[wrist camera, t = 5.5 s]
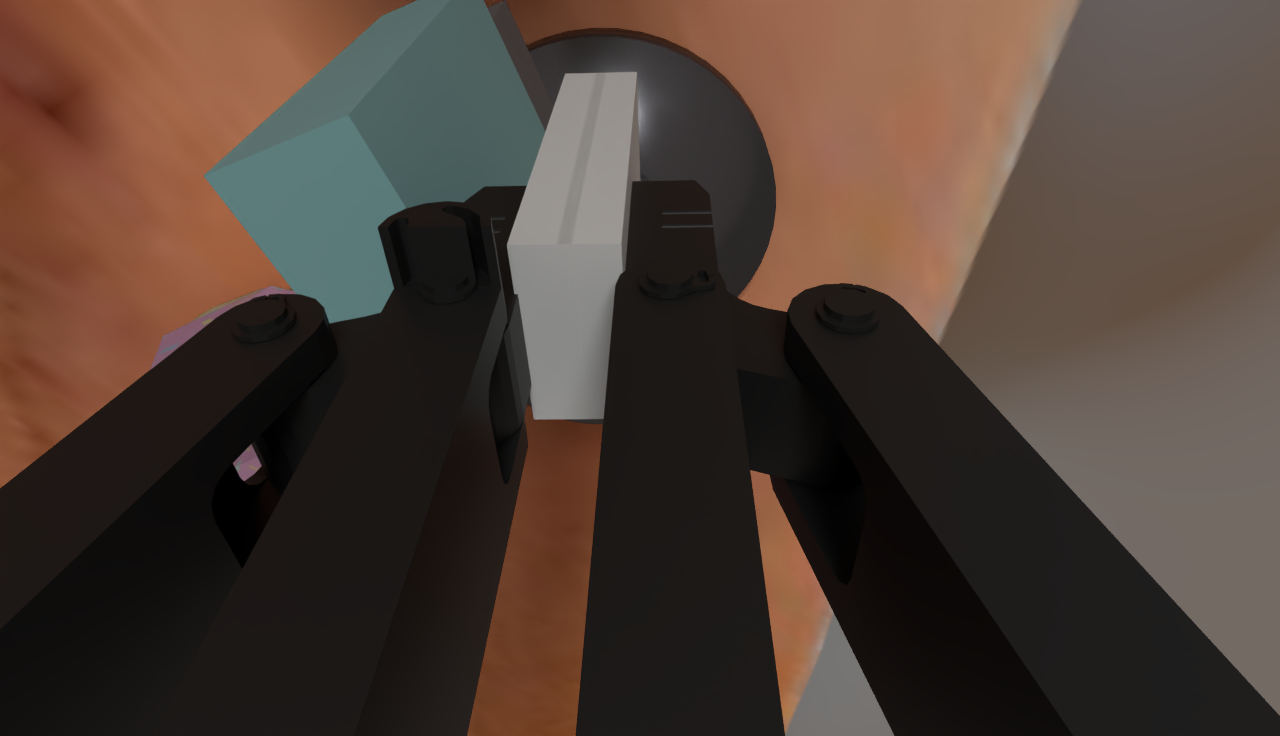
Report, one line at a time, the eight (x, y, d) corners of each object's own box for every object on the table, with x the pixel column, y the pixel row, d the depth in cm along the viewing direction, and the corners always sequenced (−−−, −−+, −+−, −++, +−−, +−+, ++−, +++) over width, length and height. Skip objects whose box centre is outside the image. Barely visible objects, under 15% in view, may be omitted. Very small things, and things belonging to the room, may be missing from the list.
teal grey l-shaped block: (731, 335, 26) (775, 627, 17) (549, 389, 28) (502, 683, 19) (573, -83, 19) (502, 50, 10) (334, 25, 20) (77, 227, 11)
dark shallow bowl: (764, 328, 34) (783, 417, 29) (401, 343, 34) (362, 433, 30) (781, 16, 26) (811, 70, 21) (308, 44, 26) (235, 103, 22)
